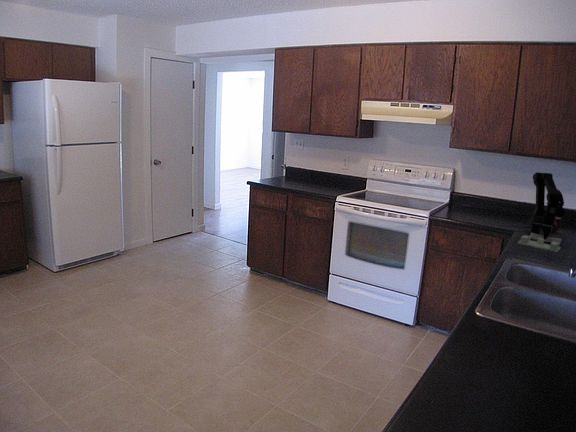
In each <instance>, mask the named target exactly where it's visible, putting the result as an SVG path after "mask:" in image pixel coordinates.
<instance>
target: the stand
mask: <svg viewBox="0 0 576 432" xmlns="http://www.w3.org/2000/svg"><path fill="white" fill-rule="evenodd" d="M529 237H530V235H525V234H524V235H522V236H520V240H519V241H517V245H522V246H527V247H530V246H531V247H532V248H535V249H539V248H540V249H539V250H543V249H544V251H548V250H550V251H549V252H552V251H554V252H553V253H556V252H557V253H558V252H559V251H560V250H561V248H562V247H561V246H560V245H559V243H558V242H552V243H550V244H548V243H545V241H544V239H542V238H538V239H537V240H531V239H530V240H529ZM558 245H559V246H558Z"/></svg>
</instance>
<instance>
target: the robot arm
mask: <svg viewBox="0 0 576 432" xmlns="http://www.w3.org/2000/svg"><path fill="white" fill-rule="evenodd" d="M532 180H533V184H534V186H535V210H534V211H533V212H532V213H531V214H532V215H531V216H530V217H529V218H528V221H527V222H528V224H529V225H530V229H529V232H527V233H528V235H530V234H531V233H535V234H540V235H543V236H544V240H546V239H547V237H548V236H549V237H550V235H551V234H552V233H551V232H552V231H553V230H554V227H556V225H557V223H556V221H555V219H556V217H559V218H563V217H564V216H565V214H566V209H565V208H563V207H564V205H565V199H564V196H563V193H562V192H561V191H560V190H559V189H558V188H557V185H556V183H555V179H554V177H553V173H550V172H535V173H534V174H533V175H532ZM546 192H547V193H546ZM545 193H546V198H545ZM545 199H546V200H547V202H546V204H547V205H546V208H545ZM545 209H546V210H545ZM552 225H553V226H554V227H553V226H552ZM541 230H542V232H543V233H541Z"/></svg>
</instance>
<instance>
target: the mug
mask: <svg viewBox="0 0 576 432" xmlns="http://www.w3.org/2000/svg"><path fill="white" fill-rule="evenodd" d="M555 221H556V223H557V225H556V227H554V226H553V225H552V226H553V227H554V230H553V231H552V232H551V234H556V232H557V231H558V230H559V227H560V225H561V223H562V217H556V219H555Z"/></svg>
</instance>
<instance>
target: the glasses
mask: <svg viewBox="0 0 576 432" xmlns="http://www.w3.org/2000/svg"><path fill="white" fill-rule="evenodd" d="M540 234H541V233H540ZM540 234H535V233H531V234H529V236H530V237H529V240H531V239H532V240H533V241H537V239H538V238H542V239H544V236H543V234H541V235H540ZM545 242H546V243H549V242H550V244H551V243H552V242H558V243H559V245H558V247H560V245H561V242H562V238H557V237H553V236H550V235H549V236H548V237H547V239H546V240H544V243H545Z"/></svg>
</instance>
